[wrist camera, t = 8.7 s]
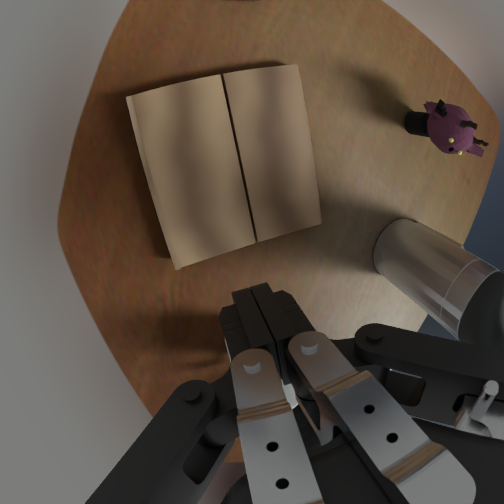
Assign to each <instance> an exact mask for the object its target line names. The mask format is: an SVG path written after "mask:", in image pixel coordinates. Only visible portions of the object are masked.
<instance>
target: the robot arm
mask: <svg viewBox="0 0 504 504" xmlns="http://www.w3.org/2000/svg"><path fill="white" fill-rule="evenodd" d="M373 260H374V265H375V268H376V270H377V271H378V272H379V273H380V274H381V275H382V276H384V277H385V278H386V279H387V280H389V281H390V282H391V283H392V284H393V285H395V286H396V287H397V288H398V289H399V290H401V291H402V292H403V293H404V294H406V295H407V296H408V297H409V298H410V299H412V300H413V301H414V302H415V303H416V304H418V305H419V306H420V307H421V308H422V309H424V310H425V311H426V312H427V313H428V314H429V315H431V316H432V317H433V318H434V319H435V320H436V321H438V322H439V323H440V324H441V325H442V326H444V327H445V328H446V329H447V330H448V331H450V333H452V334H453V335H454V336H455V337H456V338H457V339H458V340H460V341H461V342H459V341H455V340H450V339H445V338H440V337H436V336H431V335H427V334H422V333H418V332H413V331H409V330H405V329H400V328H396V327H392V326H387V325H383V324H378V323H372V324H367V325H364V326H362V327H361V328H359V329H358V330H357V332H356V333H355V337H354V338H350V339H342V340H332V339H329V338H328V337H327V336H326V335H325V334H323V333H321V332H317V331H316V330H315V329H314V327H313V326H312V324H311V323H310V322H309V320H308V319H307V317H306V316H305V314H304V313H303V311H302V310H301V308H300V307H299V305H298V304H297V303H296V301H295V299H294V298H293V296H292V295H291V294H289V293H287V292H285V291H283V290H281V291H278V292H274V293H273V292H272V290H271V288H270V286H269V285H268V283H267V282H266V283H262V284H259V285H255V286H252V287H250V289H249V288H245V289H241V290H238V291H234V292H231V293H232V298H233V301H234V304H233V305H230V306H226V307H222V310H221V313H220V316H219V317H220V321H221V325H222V328H223V332H224V336H225V340H226V343H227V347H228V350H229V354H230V358H231V365H230V368H229V370H228V371H227V373H226V374H225V375H224V376H222V377H221V378H220V379H218V380H216V381H214V382H213V383H211V384H209V383H208V382H206V381H203V380H191V381H188V382H185V383H183V384H181V385H180V386H179V387H177V388H176V390H175V391H174V392H173V393H172V395H171V396H170V397H169V399H168V400H167V401H166V402H165V404H164V405H163V406H162V408H161V409H160V410H159V411H158V413H157V414H156V415H155V417H154V418H153V419H152V420H151V422H150V423H149V424H148V426H147V427H146V428H145V429H144V431H143V432H142V433H141V434H140V436H139V437H138V438H137V440H136V441H135V442H134V443H133V445H132V446H131V447H130V448H129V450H128V451H127V452H126V453H125V455H124V456H123V457H122V458H121V460H120V461H119V462H118V463H117V465H116V466H115V467H114V468H113V470H112V471H111V472H110V473H109V475H108V476H107V477H106V478H105V479H104V481H103V482H102V483H101V484H100V486H99V487H98V488H97V489H96V490H95V492H94V493H93V494H92V495H91V497H90V498H89V499H88V500H87V501H86V503H85V504H197V503H198V501H199V500H200V498H201V497H202V495H203V494H204V492H205V490H206V489H207V487H208V486H209V484H210V482H211V481H212V479H213V477H214V476H215V474H216V473H217V471H218V469H219V468H220V466H221V464H222V463H223V461H224V459H225V458H226V456H227V454H228V453H229V451H230V449H231V447H232V446H233V444H234V441H235V438H236V437H238V436H240V441H241V446H242V451H243V457H244V462H245V467H246V472H247V474H245V475H244V476H243V477H241V478H240V479H239V480H238V481H237V482H236V483H235V484H234V485H233V486H232V487H231V488H230V490H229V491H228V492H227V494H226V495H225V497H224V499H223V501H222V503H221V504H504V273H502V272H501V271H499V270H498V269H496V268H495V267H493V266H491V265H489V264H488V263H487V262H485V261H483V260H481V259H480V258H478V257H476V256H475V255H473V254H471V253H470V252H468V251H466V250H464V247H463V245H461V244H459V243H458V242H456V241H454V240H452V239H450V238H448V237H447V236H445V235H443V234H441V233H439V232H437V231H435V230H433V229H432V228H430V227H428V226H426V225H424V224H422V223H420V222H417V223H415V222H413V221H411V220H408V219H399V220H396V221H394V222H392V223H391V224H389V225H388V226H387V227H386V228H385V229H384V231H383V232H382V233H381V235H380V236H379V238H378V240H377V243H376V245H375V249H374V255H373ZM390 369H394V370H398V371H401V372H405V373H409V374H413V375H417V376H420V377H422V378H416V377H412V376H408V375H404V374H400V373H397V372H393V371H390ZM281 379H282V381H281ZM282 382H283V384H284V386H285V385H288V384H292V386H293V388H294V391H295V398H296V401H297V402H298V404H299V406H300V407H301V409H302V411H303V412H304V414H305V416H306V417H307V419H308V421H309V422H310V424H311V426H312V427H313V429H314V431H315V432H316V434H317V436H318V438H319V440H320V443H321V446H317V447H311V448H305V446H304V444H303V441H302V438H301V435H300V432H299V429H298V426H297V423H296V420H295V417H294V414H293V411H292V408H291V406H290V403H289V402H287V399H286V396H285V393H284V390H283V387H282ZM409 415H413V416H416V417H420V418H424V419H427V420H431V421H436V422H440V423H444V424H448V425H453V426H455V429H454V428H450V427H446V426H442V425H438V424H435V423H432V422H428V421H424V420H421V419H417V418H411V417H410V416H409Z"/></svg>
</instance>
